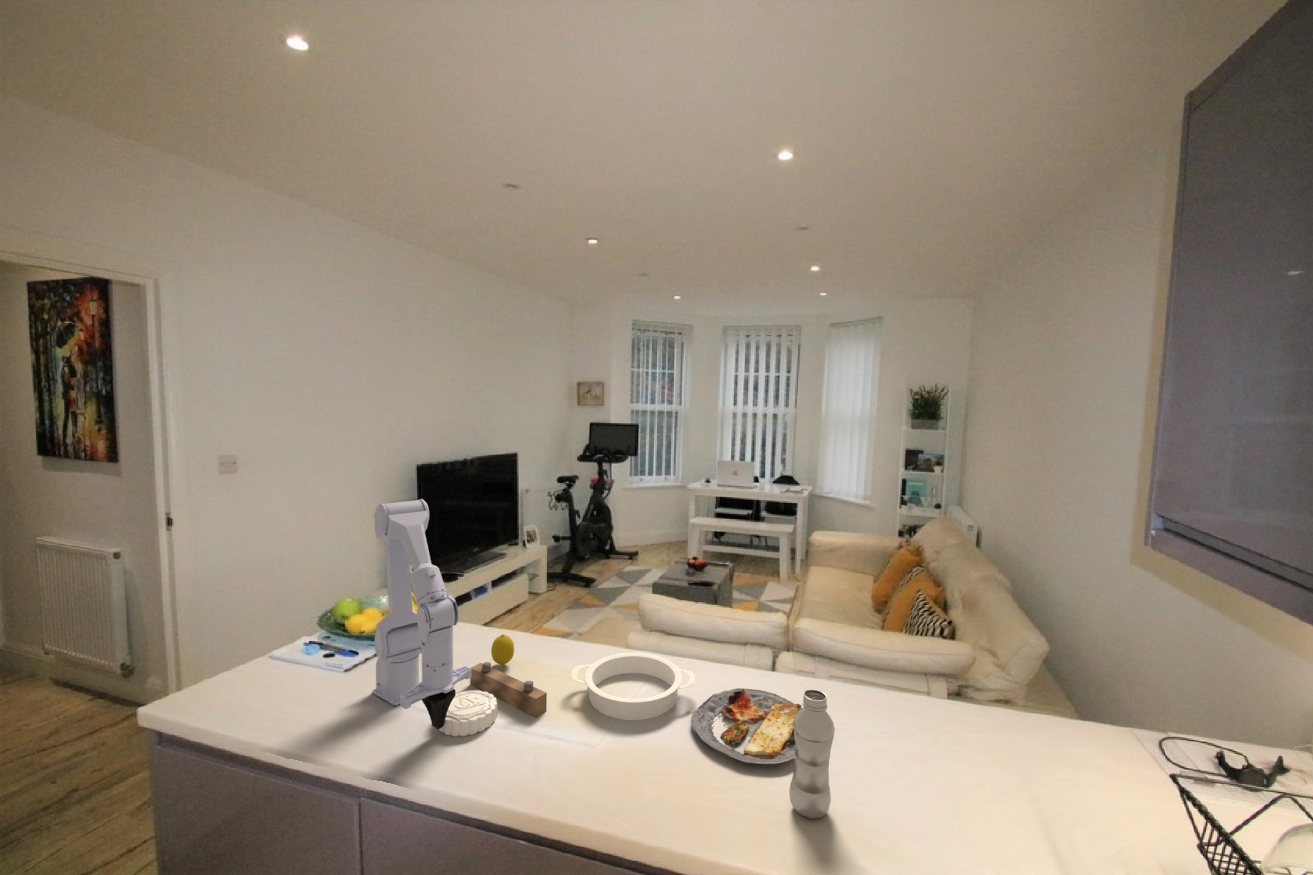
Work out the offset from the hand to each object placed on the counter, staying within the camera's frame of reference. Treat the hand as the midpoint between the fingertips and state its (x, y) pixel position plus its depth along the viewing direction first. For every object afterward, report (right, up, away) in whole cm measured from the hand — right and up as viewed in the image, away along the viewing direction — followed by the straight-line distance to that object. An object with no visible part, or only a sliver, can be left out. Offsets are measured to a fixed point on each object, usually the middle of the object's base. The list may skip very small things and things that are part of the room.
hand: (437, 726), depth 108 cm
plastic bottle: (+69, -5, -17) cm, 71 cm away
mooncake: (+4, -2, +6) cm, 7 cm away
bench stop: (+10, -1, +14) cm, 18 cm away
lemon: (+5, 0, +29) cm, 29 cm away
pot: (+38, -2, +17) cm, 42 cm away
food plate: (+63, -4, +5) cm, 64 cm away
